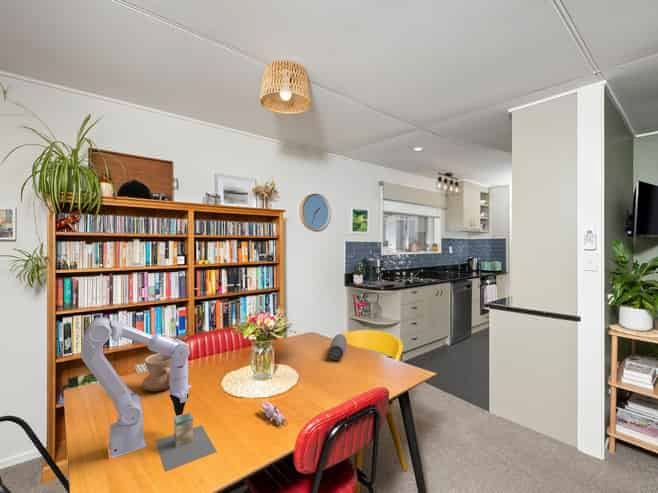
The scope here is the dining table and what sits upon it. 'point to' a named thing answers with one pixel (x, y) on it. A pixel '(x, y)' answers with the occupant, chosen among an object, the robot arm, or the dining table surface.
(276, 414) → the rabbit figure
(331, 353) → the bluetooth speaker
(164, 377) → the ceramic jug
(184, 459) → the rubber mat
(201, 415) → the dining table surface
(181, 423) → the maple block
